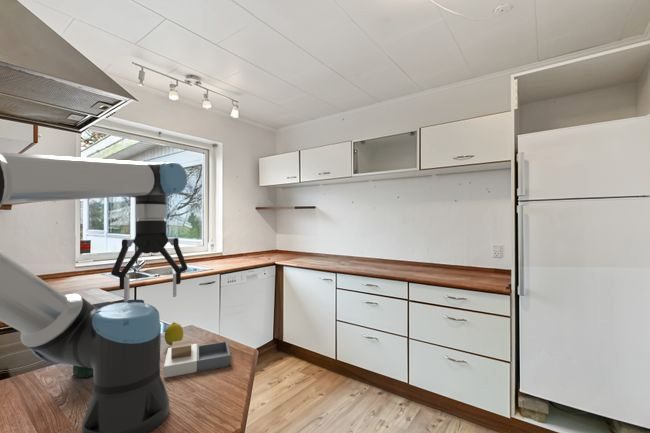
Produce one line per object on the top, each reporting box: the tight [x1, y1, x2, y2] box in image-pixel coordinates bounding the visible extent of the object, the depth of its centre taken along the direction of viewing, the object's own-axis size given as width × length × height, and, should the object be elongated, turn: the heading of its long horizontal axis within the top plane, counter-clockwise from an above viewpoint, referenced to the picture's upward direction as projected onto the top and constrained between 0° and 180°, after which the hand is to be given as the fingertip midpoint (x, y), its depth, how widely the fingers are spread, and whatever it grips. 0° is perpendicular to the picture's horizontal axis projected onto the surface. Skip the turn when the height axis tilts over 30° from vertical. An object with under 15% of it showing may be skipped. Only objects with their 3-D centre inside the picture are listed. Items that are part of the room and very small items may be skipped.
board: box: [163, 343, 198, 379], centre depth 88 cm, size 13×8×3 cm, turn 23°
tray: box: [196, 340, 231, 373], centre depth 90 cm, size 11×9×3 cm
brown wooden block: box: [170, 338, 192, 359], centre depth 88 cm, size 5×5×3 cm
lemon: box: [164, 321, 184, 346], centre depth 100 cm, size 6×6×8 cm
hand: (151, 298), depth 85 cm, fingers open, 11 cm apart
